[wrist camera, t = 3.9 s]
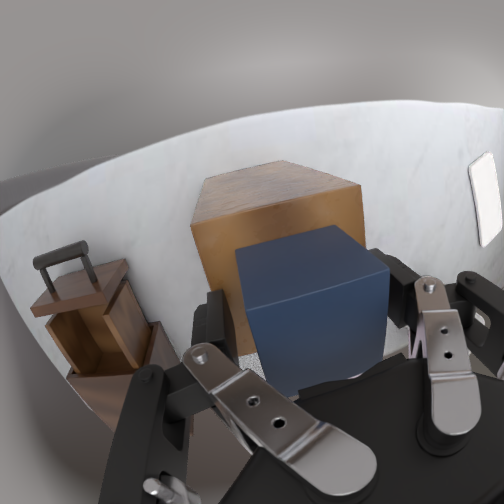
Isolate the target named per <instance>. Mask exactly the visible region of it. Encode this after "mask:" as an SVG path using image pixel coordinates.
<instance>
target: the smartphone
mask: <svg viewBox="0 0 504 504" xmlns="http://www.w3.org/2000/svg"><path fill="white" fill-rule="evenodd" d="M469 175H470V180H471V185H472V189H473V195H474V200H475V206H476V213H477V220H478V228H479V237H480V245H481V246H482V247H485V246H486V245H487V244H488V243H489V242H490V241H491V240H492V239H493V238H494V237H495V236H496V235H497V234H498V233H499V232H500V230H501V229H502V213H501V203H500V195H499V187H498V181H497V175H496V169H495V164H494V159H493V155H492V153H491V152H486V153H485V154H483V155H482V156H481V157H480V158H478V159H477V160H476V161H475V162H473V163H472V164H471V165H470V166H469Z"/></svg>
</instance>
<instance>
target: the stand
mask: <svg viewBox="0 0 504 504" xmlns="http://www.w3.org/2000/svg"><path fill="white" fill-rule="evenodd" d="M331 225H336V226H338V227H339V228H340V229H342V230H343V231H344V232H345V233H347V234H348V235H349V236H351V237H352V238H353V239H354V240H356V241H357V242H358V243H359V244H361V245H362V246H363V247H364V248H366V242H365V226H364V213H363V202H362V192H361V185H359V184H356V183H353V182H350V181H348V180H345V179H342V178H339V177H336V176H333V175H330V174H327V173H324V172H320V171H317V170H314V169H311V168H308V167H304V166H301V165H297V164H294V163H291V162H287V161H278V162H273V163H268V164H264V165H259V166H255V167H250V168H246V169H242V170H237V171H233V172H229V173H225V174H221V175H217V176H214V177H210V178H206V179H205V182H204V185H203V187H202V190H201V193H200V196H199V199H198V202H197V205H196V208H195V211H194V215H193V218H192V221H191V224H190V227H191V231H192V234H193V237H194V240H195V244H196V247H197V250H198V253H199V256H200V259H201V262H202V265H203V268H204V271H205V274H206V277H207V280H208V283H209V286H210V289H211V291H216V290H220V289H223V290H224V293H225V296H226V299H227V302H228V305H229V308H230V311H231V314H232V318H233V322H234V326H235V334H236V343H237V351H238V357H239V356H243V355H248V354H252V353H256V352H257V349H256V346H255V343H254V339H253V336H252V333H251V329H250V326H249V323H248V319H247V316H246V313H245V308H244V302H243V296H242V291H241V285H240V279H239V273H238V267H237V262H236V256H235V250H236V249H239V248H243V247H247V246H251V245H255V244H259V243H263V242H267V241H271V240H275V239H279V238H283V237H287V236H291V235H295V234H299V233H303V232H307V231H311V230H315V229H319V228H323V227H327V226H331Z"/></svg>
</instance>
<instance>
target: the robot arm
mask: <svg viewBox="0 0 504 504" xmlns="http://www.w3.org/2000/svg"><path fill="white" fill-rule="evenodd" d="M368 251H369V252H371V253H372V254H373V255H374V256H376V257H377V258H378V259H379V260H380V261H382V262H383V263H384V264H385V265H386V266H388V267H389V268H390V285H389V303H388V317H389V318H390V319H391V320H392V321H393V323H394V324H395V325H396V326H397V327H398V329H400V328H402V327H405V326H407V325H408V326H409V332H408V340H409V359H406V358H405V357H404V355H403V354H402V353H399V354H397V355H395V356H392V357H390V358H388V359H385V360H383V361H381V362H378V363H377V364H376V365H374V366H373V367H371V368H370V369H368V370H367V371H365V372H364V373H362V374H361V375H359V376H358V377H356V378H351V379H344V380H337V381H329V382H324V383H320V384H317V385H314V386H311V387H307V388H304V389H300V390H298V394H299V399H297V400H295V401H293V402H292V401H291V400H290V399H289V398H287V397H286V396H285V395H283V394H282V393H281V392H279V391H278V390H277V389H275V388H274V387H273V386H271V385H270V384H269V383H268V382H266V381H265V380H264V379H263V378H261V377H260V376H259V375H258V374H256V373H255V372H254V371H253V370H251V369H249V368H247V369H245V370H244V371H243V370H242V369H241V368H240V367H239V359H238V351H237V343H236V334H235V326H234V322H233V318H232V314H231V311H230V308H229V305H228V302H227V299H226V296H225V293H224V290H223V289H220V290H216V291H211V292H208V293H207V303H206V304H202V305H199V306H198V308H197V309H196V311H195V312H194V319H193V320H194V321H193V330H192V341H191V347H190V348H189V349H188V350H187V351H186V352H185V353H184V355H183V358H182V360H183V361H182V362H181V363H180V364H178V365H176V366H173V367H171V368H169V369H166V370H163V368H162V367H161V366H159V365H157V364H148V365H145V366H143V367H141V368H139V369H138V370H137V371H136V372H135V373H134V374H133V376H132V378H131V381H130V385H129V388H128V391H127V394H126V397H125V400H124V404H123V407H122V410H121V414H120V417H119V420H118V424H117V427H116V431H115V435H114V439H113V442H112V446H111V450H110V454H109V458H108V462H107V466H106V470H105V475H104V479H103V483H102V488H101V493H100V498H99V503H98V504H201V500H200V497H199V495H198V493H197V492H196V491H195V490H193V489H192V488H191V487H189V486H188V485H186V474H187V460H188V448H189V436H190V425H191V415H194V414H196V413H198V412H200V411H203V410H205V409H207V408H210V409H211V410H212V411H213V412H214V413H215V414H216V415H217V417H218V418H219V419H220V420H221V421H222V422H223V423H224V425H225V426H227V428H228V429H229V430H230V431H231V432H232V433H233V434H234V435H235V437H236V438H237V439H238V441H239V442H240V443H241V444H242V445H243V446H244V448H246V449H247V451H248V452H249V453H250V454H251V455H252V456H251V457H250V459H249V461H248V462H247V464H246V465H245V467H244V468H243V470H242V471H241V472H240V474H239V476H238V477H237V479H236V480H235V481H234V483H233V484H232V485H231V487H230V488H229V490H228V491H227V493H226V494H225V495H224V497H223V498H222V499H221V501H220V502H219V503H218V504H504V290H502V289H501V288H499V287H498V286H496V285H495V284H493V283H492V282H490V281H489V280H487V279H485V278H484V277H482V276H481V275H479V274H477V273H475V272H472V271H463V272H461V273H459V274H458V276H457V281H456V283H453V284H447V285H444V284H443V282H442V281H440V280H439V279H437V278H434V277H423V278H422V277H420V276H419V275H418V274H417V273H415V272H414V271H413V270H412V269H410V268H409V267H407V266H406V265H405V264H404V263H402V262H401V261H400V260H399V259H397V258H396V257H393V256H390V255H385V254H384V253H383V252H381V251H380V250H379V249H377V248H374V249H371V250H368ZM477 308H479V309H480V310H481V311H483V312H484V313H485V314H486V315H488V317H489V318H490V321H491V326H490V329H488V328H487V327H486V326H485V325H483V324H482V323H481V322H480V321H479V320H477V319H476V318H475V314H476V310H477ZM467 348H468V349H469V350H470V351H471V352H472V353H473V354H474V355H475V356H476V357H477V358H478V359H479V360H480V361H481V362H482V363H483V364H484V365H485V366H486V367H487V368H488V369H489V370H490V371H491V372H492V373H493V374H494V375H495V376H496V377H497V378H498V379H497V378H493V377H489V376H486V375H482V374H478V373H475V372H472V370H471V365H470V359H469V354H468V349H467Z"/></svg>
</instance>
